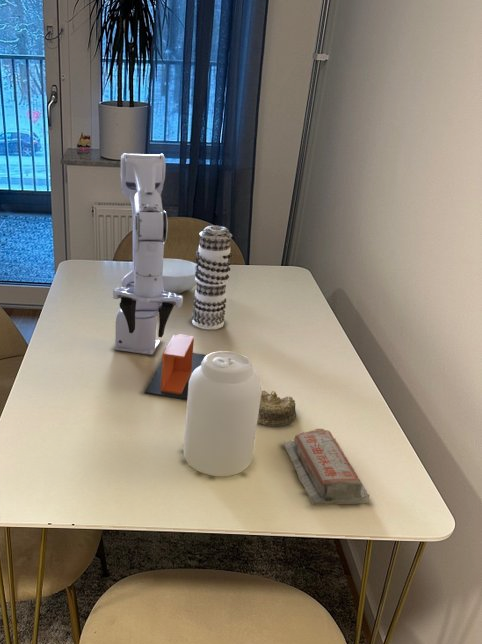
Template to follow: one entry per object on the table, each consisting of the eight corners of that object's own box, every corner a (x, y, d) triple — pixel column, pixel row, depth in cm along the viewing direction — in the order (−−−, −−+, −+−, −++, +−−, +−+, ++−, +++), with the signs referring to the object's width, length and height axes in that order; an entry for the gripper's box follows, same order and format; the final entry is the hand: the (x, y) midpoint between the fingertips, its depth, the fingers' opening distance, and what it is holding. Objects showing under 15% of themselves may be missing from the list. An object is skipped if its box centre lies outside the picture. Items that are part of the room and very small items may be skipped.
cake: (293, 432, 127) (296, 410, 124) (242, 424, 130) (245, 402, 127) (298, 405, 135) (302, 383, 132) (251, 397, 138) (253, 376, 134)
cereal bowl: (200, 301, 185) (202, 277, 181) (142, 299, 185) (143, 275, 181) (197, 280, 199) (199, 258, 195) (143, 278, 199) (144, 256, 195)
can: (202, 485, 111) (212, 382, 101) (171, 446, 121) (177, 349, 110) (264, 469, 116) (280, 370, 105) (229, 433, 125) (240, 339, 115)
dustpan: (160, 391, 138) (162, 353, 133) (178, 358, 152) (180, 322, 147) (181, 394, 137) (183, 356, 132) (196, 360, 151) (199, 325, 146)
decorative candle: (216, 314, 176) (225, 222, 163) (230, 328, 169) (241, 232, 156) (185, 317, 174) (192, 224, 161) (198, 331, 166) (206, 234, 153)
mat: (144, 393, 138) (144, 391, 138) (168, 350, 156) (168, 349, 156) (227, 406, 134) (228, 405, 134) (242, 361, 152) (242, 360, 152)
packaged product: (376, 481, 106) (316, 483, 105) (369, 505, 108) (311, 507, 107) (338, 423, 121) (286, 424, 120) (333, 444, 123) (282, 446, 122)
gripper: (108, 274, 130) (108, 336, 137) (178, 282, 127) (175, 345, 134) (119, 263, 136) (118, 323, 143) (186, 271, 133) (182, 332, 140)
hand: (146, 333), depth 139 cm, fingers open, 6 cm apart
